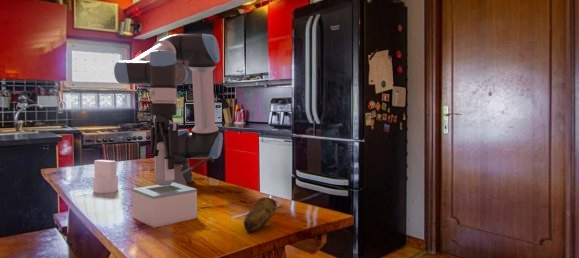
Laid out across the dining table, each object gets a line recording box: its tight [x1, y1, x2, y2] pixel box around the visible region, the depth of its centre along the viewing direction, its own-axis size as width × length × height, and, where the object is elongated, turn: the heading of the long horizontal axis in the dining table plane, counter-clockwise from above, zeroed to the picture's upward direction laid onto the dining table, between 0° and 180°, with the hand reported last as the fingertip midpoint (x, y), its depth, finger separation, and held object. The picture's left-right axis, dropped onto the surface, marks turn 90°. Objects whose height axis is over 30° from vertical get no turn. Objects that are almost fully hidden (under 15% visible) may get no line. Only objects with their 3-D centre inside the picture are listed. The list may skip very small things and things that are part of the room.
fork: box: [231, 201, 284, 219], centre depth 128 cm, size 3×24×2 cm, turn 136°
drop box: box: [131, 182, 198, 229], centre depth 121 cm, size 14×14×9 cm
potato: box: [243, 197, 278, 233], centre depth 112 cm, size 8×13×8 cm, turn 136°
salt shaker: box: [154, 142, 173, 186], centre depth 120 cm, size 6×6×13 cm
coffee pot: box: [172, 157, 215, 186], centre depth 144 cm, size 21×12×15 cm, turn 127°
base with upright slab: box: [92, 159, 119, 194], centre depth 157 cm, size 9×9×12 cm
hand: (164, 178), depth 120 cm, fingers closed on salt shaker, 6 cm apart
